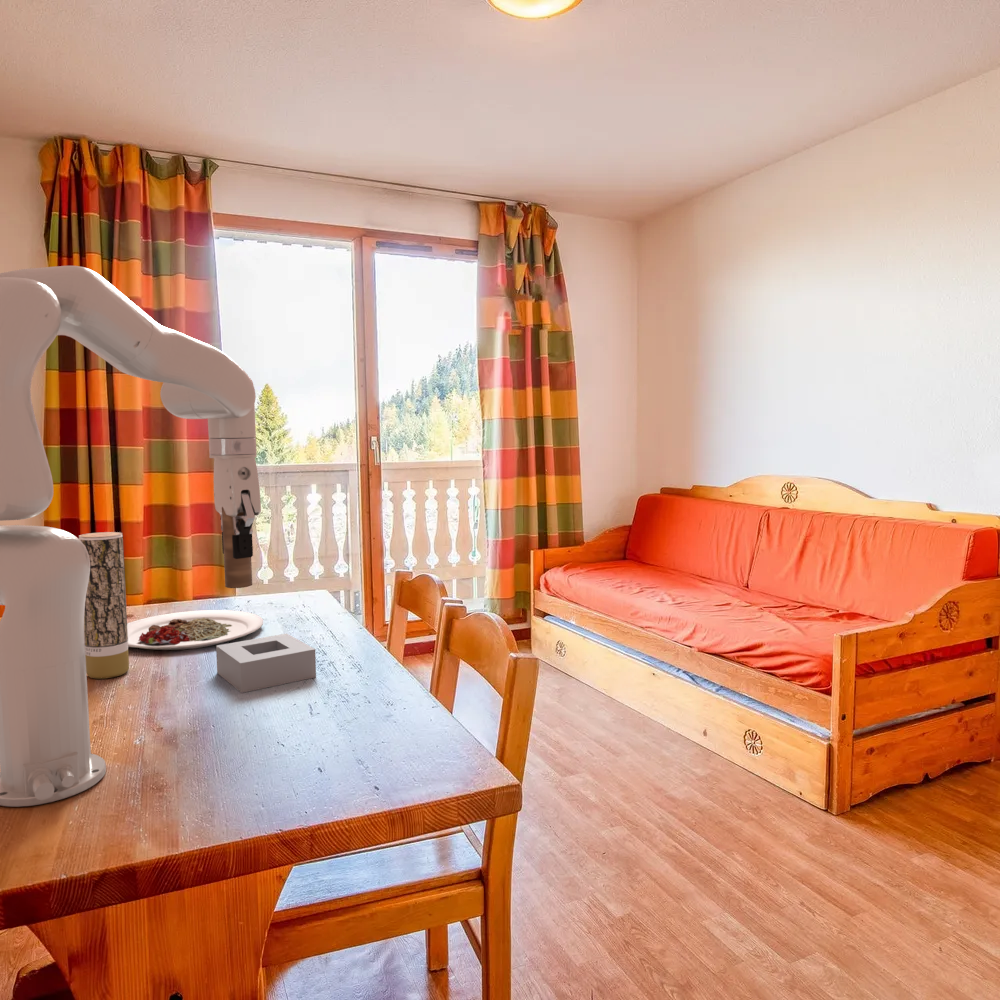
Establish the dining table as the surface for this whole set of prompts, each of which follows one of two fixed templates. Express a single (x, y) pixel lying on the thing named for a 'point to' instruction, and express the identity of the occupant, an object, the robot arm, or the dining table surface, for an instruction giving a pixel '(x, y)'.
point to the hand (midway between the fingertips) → (237, 554)
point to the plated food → (191, 629)
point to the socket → (265, 662)
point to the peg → (235, 569)
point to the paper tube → (105, 607)
